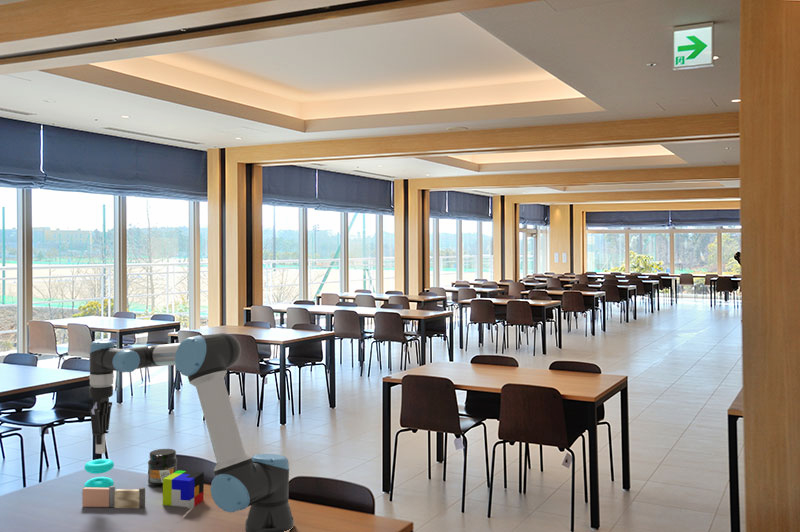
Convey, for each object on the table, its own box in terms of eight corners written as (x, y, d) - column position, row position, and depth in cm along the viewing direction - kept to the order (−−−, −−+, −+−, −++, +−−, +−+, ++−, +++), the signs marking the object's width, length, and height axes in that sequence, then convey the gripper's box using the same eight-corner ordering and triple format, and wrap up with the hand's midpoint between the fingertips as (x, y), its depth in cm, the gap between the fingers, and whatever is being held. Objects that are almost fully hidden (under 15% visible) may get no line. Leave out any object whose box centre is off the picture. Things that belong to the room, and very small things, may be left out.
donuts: (119, 459, 258) (100, 466, 248) (119, 486, 258) (100, 494, 248) (98, 456, 261) (78, 463, 252) (98, 483, 261) (78, 491, 252)
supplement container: (167, 488, 255) (167, 456, 255) (141, 486, 258) (142, 454, 258) (182, 480, 266) (182, 449, 266) (158, 478, 268) (158, 447, 268)
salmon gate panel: (115, 505, 234) (115, 486, 234) (113, 507, 232) (113, 487, 232) (84, 504, 234) (84, 485, 234) (82, 506, 232) (82, 487, 232)
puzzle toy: (189, 510, 234) (189, 481, 234) (162, 507, 236) (162, 478, 236) (203, 500, 244) (203, 472, 244) (177, 498, 246) (177, 470, 246)
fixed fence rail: (146, 507, 234) (146, 487, 234) (143, 509, 232) (143, 489, 232) (116, 506, 234) (117, 487, 234) (114, 508, 232) (114, 489, 232)
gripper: (99, 381, 246) (98, 447, 246) (81, 388, 233) (80, 458, 233) (120, 382, 246) (118, 448, 246) (103, 389, 233) (102, 458, 233)
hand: (100, 452), depth 240 cm, fingers closed
